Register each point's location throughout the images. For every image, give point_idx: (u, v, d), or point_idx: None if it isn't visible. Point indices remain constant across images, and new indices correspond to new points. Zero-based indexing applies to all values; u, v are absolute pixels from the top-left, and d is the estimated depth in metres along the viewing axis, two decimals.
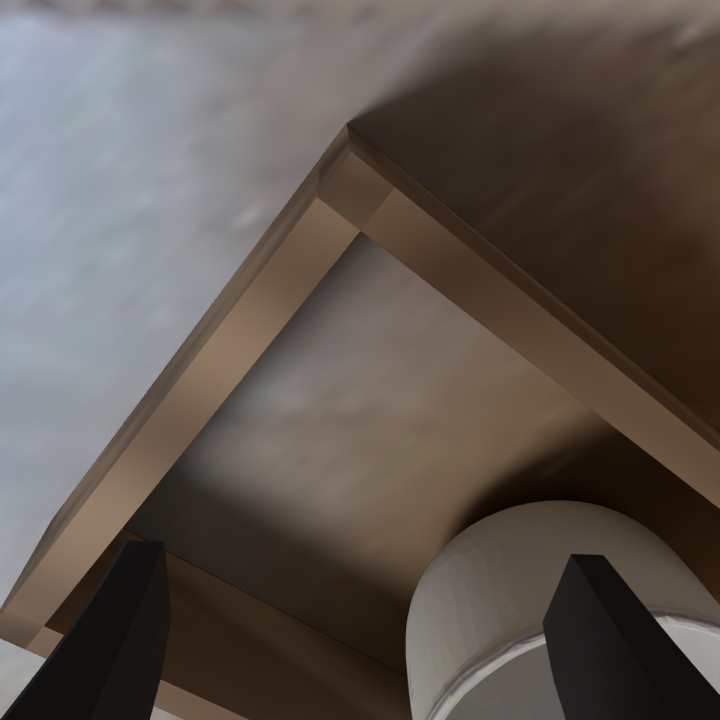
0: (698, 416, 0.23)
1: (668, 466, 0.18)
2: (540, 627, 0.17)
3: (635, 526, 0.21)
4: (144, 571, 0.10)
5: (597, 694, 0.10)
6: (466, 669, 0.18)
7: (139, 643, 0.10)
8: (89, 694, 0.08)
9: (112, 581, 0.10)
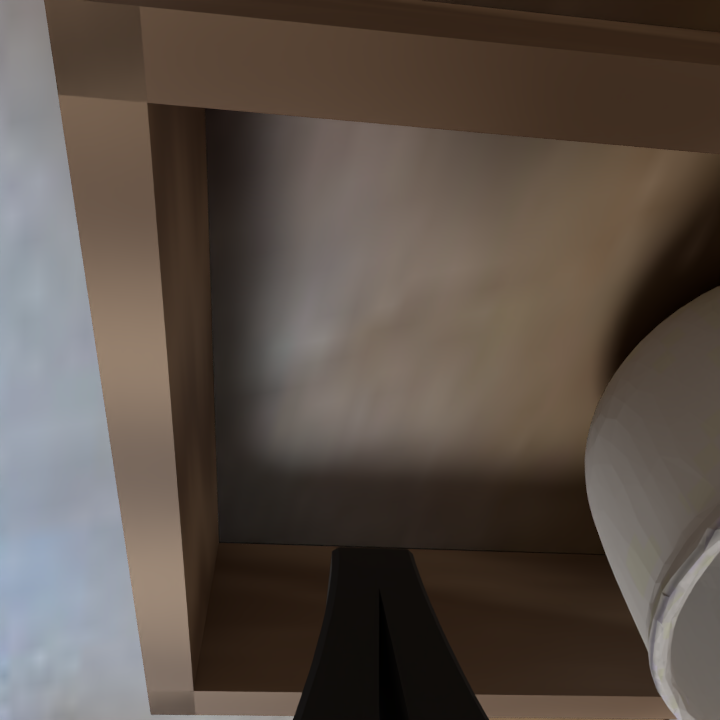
0: None
1: None
2: None
3: None
4: (369, 577, 0.10)
5: (380, 692, 0.10)
6: (665, 581, 0.12)
7: None
8: (368, 696, 0.09)
9: (344, 587, 0.10)
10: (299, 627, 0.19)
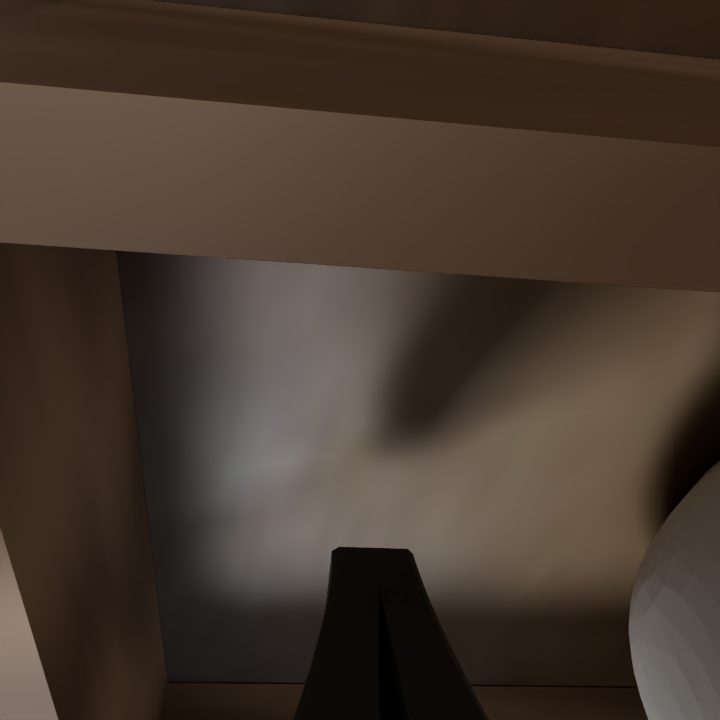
0: None
1: None
2: None
3: None
4: (369, 577, 0.10)
5: (380, 692, 0.10)
6: None
7: None
8: (368, 697, 0.09)
9: (344, 587, 0.10)
10: None
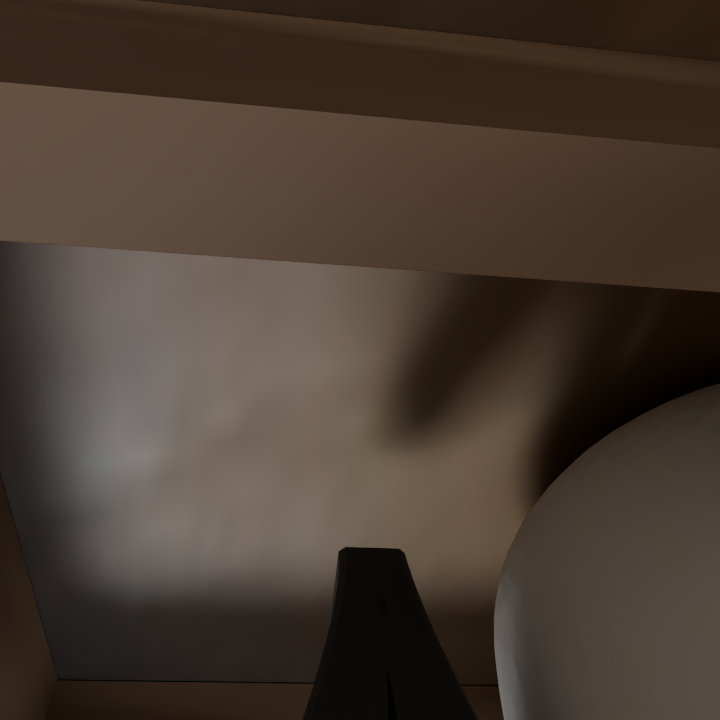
0: None
1: None
2: None
3: None
4: (376, 577, 0.10)
5: None
6: None
7: None
8: (377, 697, 0.09)
9: (351, 587, 0.10)
10: None
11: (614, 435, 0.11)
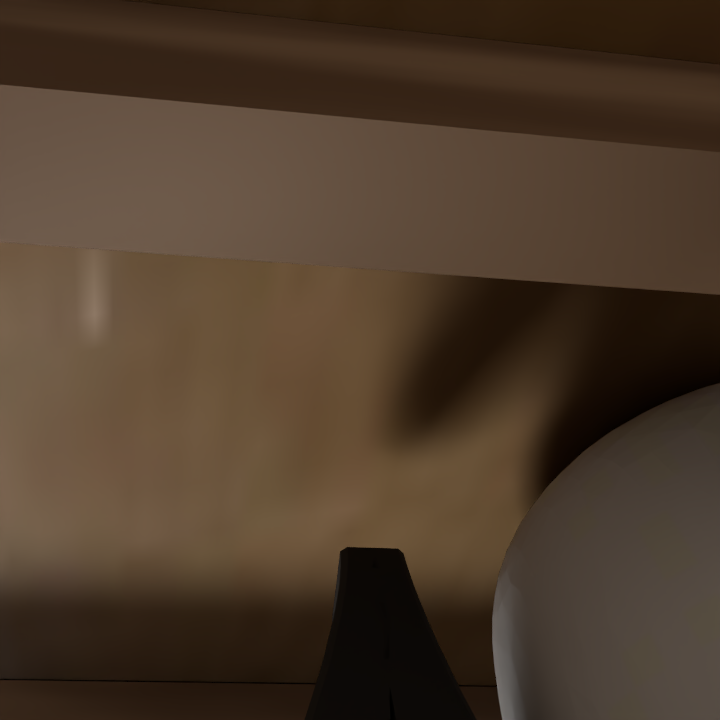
0: (216, 13, 0.09)
1: None
2: None
3: None
4: (378, 577, 0.10)
5: None
6: None
7: None
8: (379, 697, 0.09)
9: (353, 587, 0.10)
10: None
11: (613, 435, 0.11)
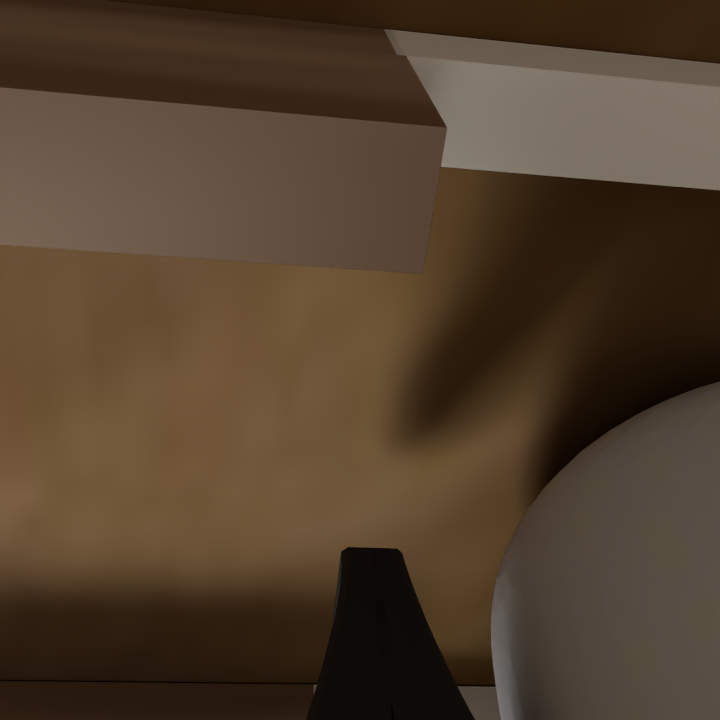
0: None
1: None
2: None
3: None
4: (379, 577, 0.10)
5: None
6: None
7: None
8: (380, 697, 0.09)
9: (354, 587, 0.10)
10: None
11: (611, 434, 0.11)
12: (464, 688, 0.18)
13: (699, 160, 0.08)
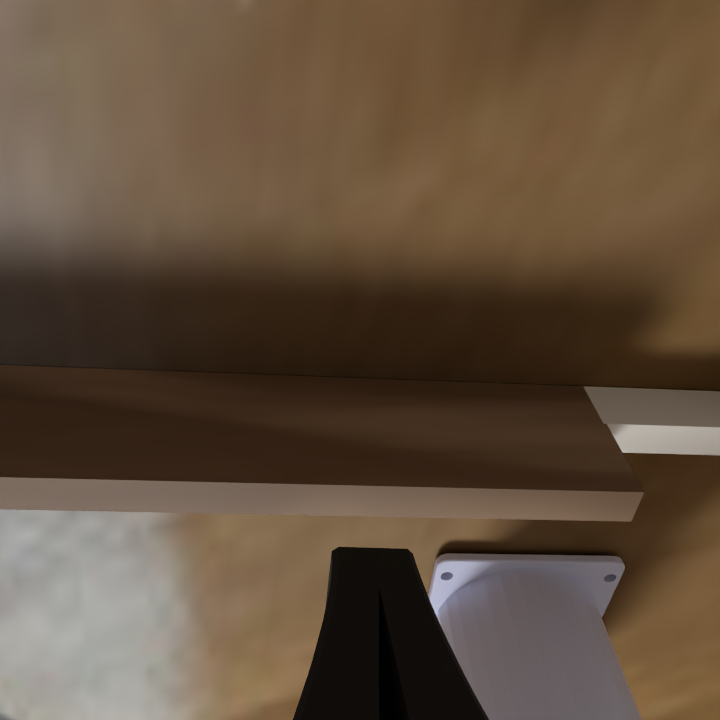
0: None
1: None
2: None
3: None
4: (369, 577, 0.10)
5: (380, 692, 0.10)
6: None
7: None
8: (368, 696, 0.09)
9: (343, 586, 0.10)
10: None
11: None
12: (698, 393, 0.23)
13: None
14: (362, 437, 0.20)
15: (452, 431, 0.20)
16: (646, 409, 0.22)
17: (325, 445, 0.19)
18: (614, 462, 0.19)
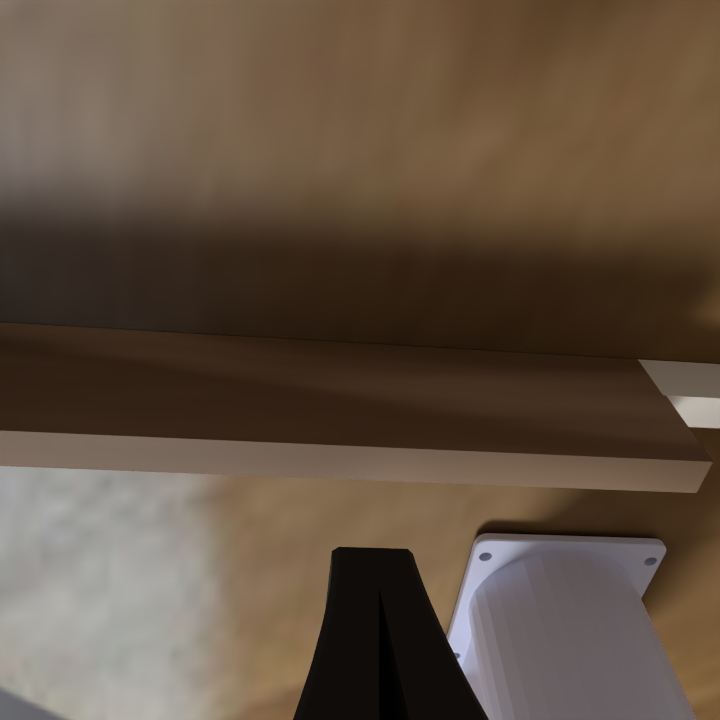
0: None
1: None
2: None
3: None
4: (369, 577, 0.10)
5: (380, 692, 0.10)
6: None
7: None
8: (368, 697, 0.09)
9: (344, 587, 0.10)
10: None
11: None
12: None
13: None
14: (420, 402, 0.19)
15: (511, 399, 0.20)
16: (704, 382, 0.21)
17: (384, 409, 0.19)
18: (679, 432, 0.19)
